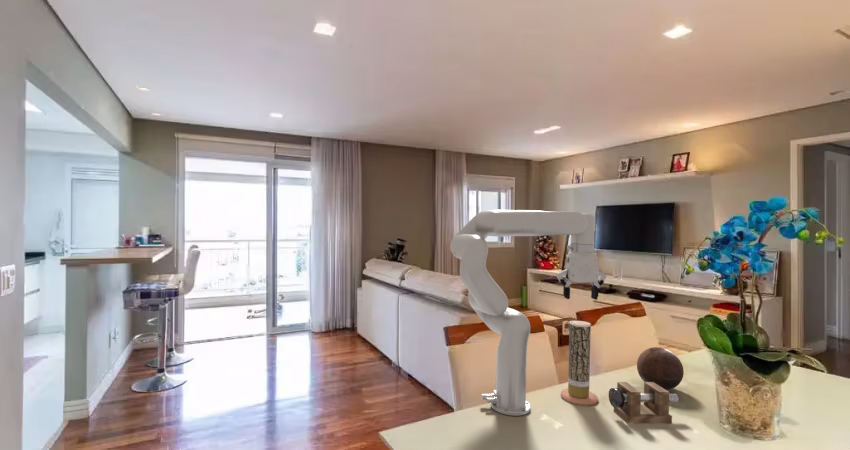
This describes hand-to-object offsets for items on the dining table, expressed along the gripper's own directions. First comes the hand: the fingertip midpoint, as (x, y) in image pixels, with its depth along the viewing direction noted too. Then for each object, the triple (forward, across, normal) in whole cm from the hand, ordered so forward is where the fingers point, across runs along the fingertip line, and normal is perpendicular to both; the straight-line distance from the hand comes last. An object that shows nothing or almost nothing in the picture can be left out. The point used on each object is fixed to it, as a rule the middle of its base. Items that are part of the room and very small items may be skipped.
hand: (580, 298), depth 142 cm
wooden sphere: (+34, +35, +8) cm, 49 cm away
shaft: (+31, +15, -14) cm, 37 cm away
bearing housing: (+34, +15, -14) cm, 40 cm away
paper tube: (+34, 0, 0) cm, 34 cm away
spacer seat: (+34, +1, 0) cm, 34 cm away
